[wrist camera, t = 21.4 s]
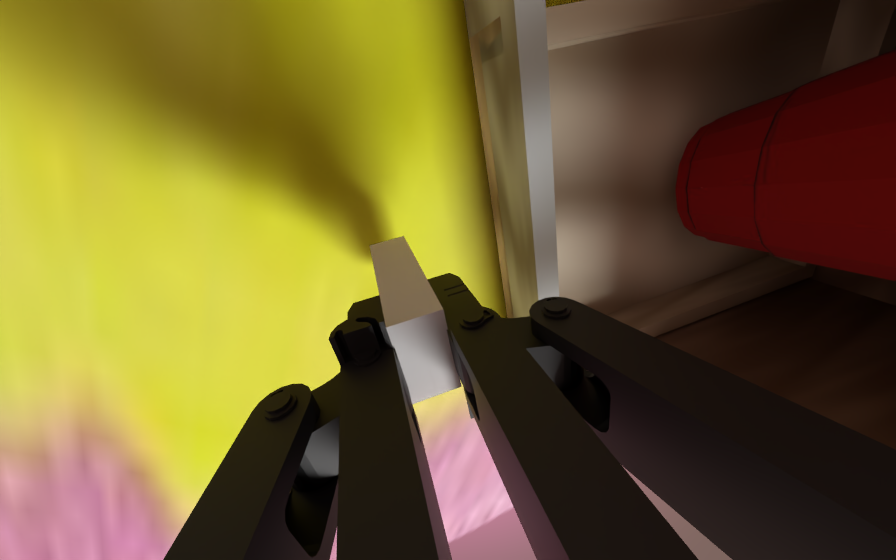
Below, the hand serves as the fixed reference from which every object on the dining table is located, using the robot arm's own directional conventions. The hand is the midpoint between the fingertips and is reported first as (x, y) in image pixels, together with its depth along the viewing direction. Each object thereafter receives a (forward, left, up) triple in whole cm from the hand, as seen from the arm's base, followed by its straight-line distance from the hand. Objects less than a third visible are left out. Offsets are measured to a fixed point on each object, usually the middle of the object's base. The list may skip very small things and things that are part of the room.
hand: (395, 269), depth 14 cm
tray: (0, +15, -2) cm, 15 cm away
